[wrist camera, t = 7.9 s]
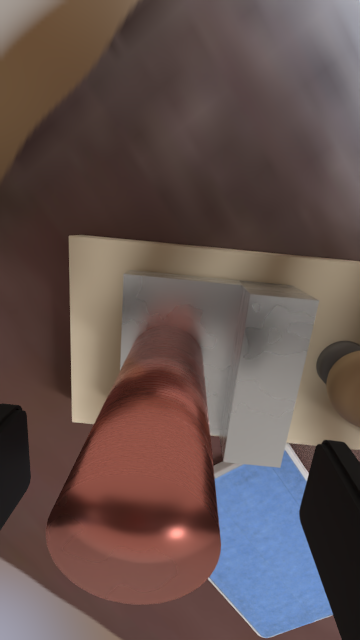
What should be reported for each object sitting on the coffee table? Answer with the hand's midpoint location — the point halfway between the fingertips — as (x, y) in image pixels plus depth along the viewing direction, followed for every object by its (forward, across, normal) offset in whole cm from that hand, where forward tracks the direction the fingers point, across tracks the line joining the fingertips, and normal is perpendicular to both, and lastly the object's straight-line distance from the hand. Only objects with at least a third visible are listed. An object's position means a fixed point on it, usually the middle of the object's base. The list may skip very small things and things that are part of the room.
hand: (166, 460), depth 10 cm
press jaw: (+9, -1, 0) cm, 9 cm away
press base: (+11, -5, 0) cm, 12 cm away
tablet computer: (+12, -9, +18) cm, 23 cm away
